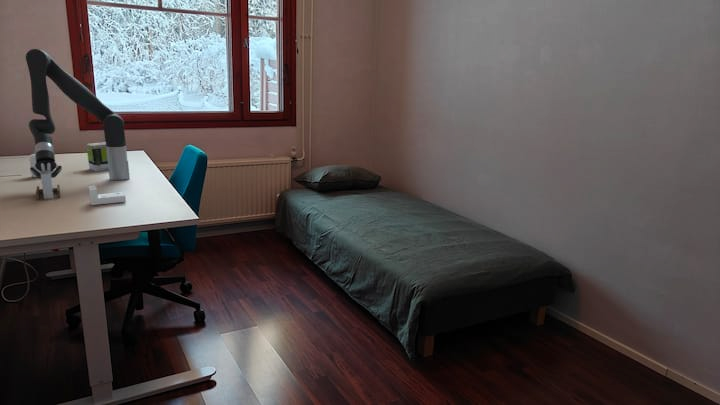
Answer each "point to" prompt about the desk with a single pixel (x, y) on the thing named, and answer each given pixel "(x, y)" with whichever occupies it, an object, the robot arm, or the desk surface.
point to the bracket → (105, 197)
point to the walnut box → (41, 196)
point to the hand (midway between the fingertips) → (47, 184)
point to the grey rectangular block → (47, 184)
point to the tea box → (97, 156)
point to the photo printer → (32, 164)
